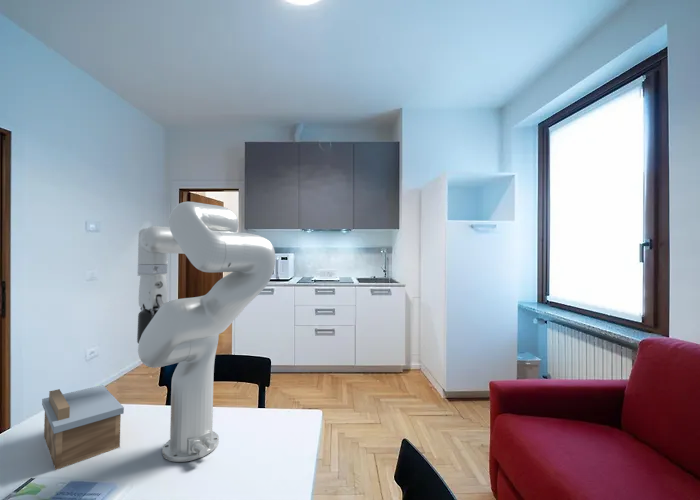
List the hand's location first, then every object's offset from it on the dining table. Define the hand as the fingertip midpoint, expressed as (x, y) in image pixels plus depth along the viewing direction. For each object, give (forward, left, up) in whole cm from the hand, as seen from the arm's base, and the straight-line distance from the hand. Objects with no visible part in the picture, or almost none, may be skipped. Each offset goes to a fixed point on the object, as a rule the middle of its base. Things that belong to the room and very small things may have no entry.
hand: (151, 330), depth 97 cm
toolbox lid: (0, +16, -17) cm, 23 cm away
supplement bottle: (0, 0, -4) cm, 4 cm away
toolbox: (0, +16, -26) cm, 30 cm away
